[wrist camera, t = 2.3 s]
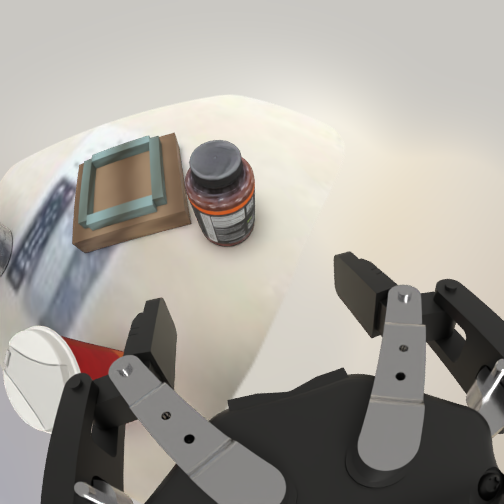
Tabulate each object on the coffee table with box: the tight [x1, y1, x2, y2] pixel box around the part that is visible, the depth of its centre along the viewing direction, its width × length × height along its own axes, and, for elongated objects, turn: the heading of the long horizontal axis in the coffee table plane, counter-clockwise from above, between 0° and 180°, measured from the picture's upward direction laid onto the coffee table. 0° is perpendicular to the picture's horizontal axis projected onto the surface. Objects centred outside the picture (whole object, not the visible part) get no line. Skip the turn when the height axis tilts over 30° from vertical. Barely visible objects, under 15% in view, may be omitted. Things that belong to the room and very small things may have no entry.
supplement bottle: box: [185, 140, 255, 246], centre depth 25 cm, size 6×6×11 cm
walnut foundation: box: [72, 133, 191, 253], centre depth 30 cm, size 14×12×4 cm
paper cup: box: [3, 326, 124, 434], centre depth 18 cm, size 8×8×14 cm
